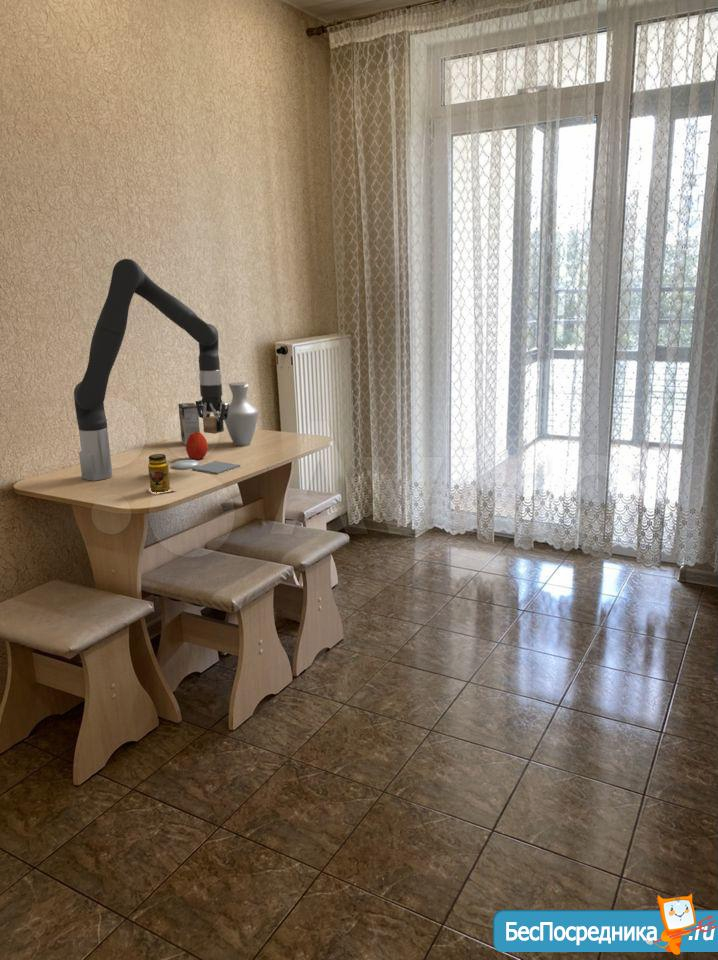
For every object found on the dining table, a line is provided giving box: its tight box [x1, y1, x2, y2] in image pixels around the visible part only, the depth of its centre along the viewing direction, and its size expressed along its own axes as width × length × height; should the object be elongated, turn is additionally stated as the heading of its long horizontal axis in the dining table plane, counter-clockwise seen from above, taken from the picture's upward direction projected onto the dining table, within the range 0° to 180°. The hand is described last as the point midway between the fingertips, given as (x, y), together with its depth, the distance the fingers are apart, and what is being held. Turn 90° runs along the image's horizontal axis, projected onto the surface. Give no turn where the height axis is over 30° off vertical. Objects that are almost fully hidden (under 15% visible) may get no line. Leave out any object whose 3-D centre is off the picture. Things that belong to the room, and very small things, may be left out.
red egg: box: [185, 431, 209, 460], centre depth 270 cm, size 8×8×11 cm
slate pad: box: [191, 460, 241, 475], centre depth 257 cm, size 12×12×1 cm
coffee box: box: [178, 402, 201, 446], centre depth 294 cm, size 9×6×16 cm
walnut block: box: [202, 415, 225, 435], centre depth 253 cm, size 5×5×5 cm
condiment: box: [147, 453, 171, 493], centre depth 230 cm, size 7×8×12 cm
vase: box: [223, 381, 259, 447], centre depth 290 cm, size 14×14×25 cm
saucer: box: [173, 459, 200, 470], centre depth 261 cm, size 9×9×1 cm
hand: (213, 430), depth 253 cm, fingers closed on walnut block, 5 cm apart
